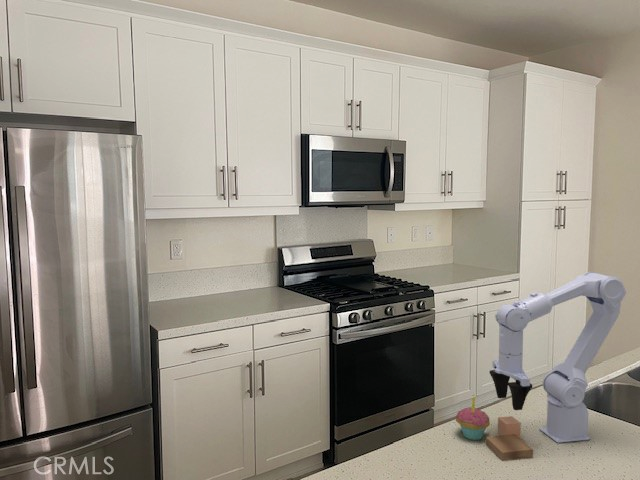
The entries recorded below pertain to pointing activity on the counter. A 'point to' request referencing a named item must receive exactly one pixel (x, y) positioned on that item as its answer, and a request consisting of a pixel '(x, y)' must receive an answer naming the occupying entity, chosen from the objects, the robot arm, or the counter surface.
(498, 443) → the base
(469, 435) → the cupcake
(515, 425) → the block
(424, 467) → the counter surface
